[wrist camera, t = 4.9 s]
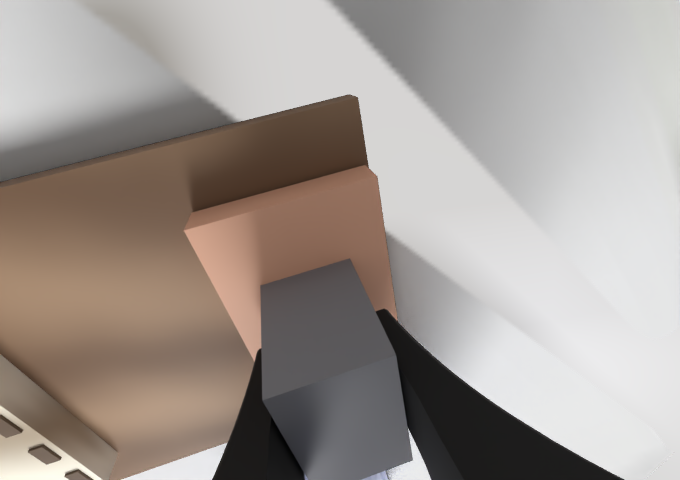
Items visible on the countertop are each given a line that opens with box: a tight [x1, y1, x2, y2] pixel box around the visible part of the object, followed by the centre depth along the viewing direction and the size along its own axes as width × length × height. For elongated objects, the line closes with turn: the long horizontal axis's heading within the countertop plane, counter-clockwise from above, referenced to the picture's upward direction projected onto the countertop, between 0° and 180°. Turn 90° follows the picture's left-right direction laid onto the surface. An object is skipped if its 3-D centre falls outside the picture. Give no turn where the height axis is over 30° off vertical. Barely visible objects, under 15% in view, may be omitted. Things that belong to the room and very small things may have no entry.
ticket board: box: [0, 95, 369, 480], centre depth 11 cm, size 14×25×2 cm, turn 102°
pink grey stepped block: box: [184, 165, 413, 480], centre depth 10 cm, size 10×6×5 cm, turn 12°
